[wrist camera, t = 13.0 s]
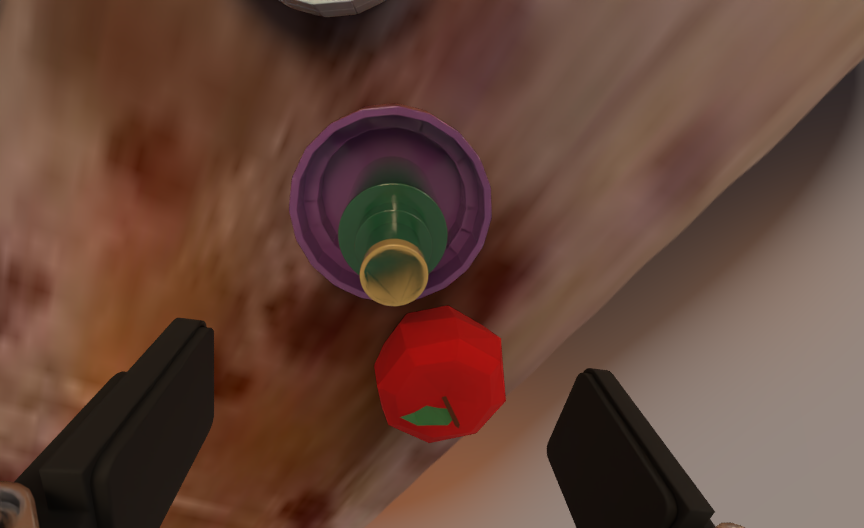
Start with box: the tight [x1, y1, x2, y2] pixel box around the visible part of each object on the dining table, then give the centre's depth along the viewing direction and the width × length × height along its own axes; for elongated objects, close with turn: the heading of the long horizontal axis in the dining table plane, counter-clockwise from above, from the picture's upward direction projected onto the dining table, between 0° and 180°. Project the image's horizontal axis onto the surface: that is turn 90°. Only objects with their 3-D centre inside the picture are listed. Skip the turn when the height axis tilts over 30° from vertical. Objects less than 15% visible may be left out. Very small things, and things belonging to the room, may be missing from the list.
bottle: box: [338, 156, 448, 306], centre depth 24 cm, size 6×6×14 cm
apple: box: [374, 305, 506, 443], centre depth 32 cm, size 11×11×10 cm
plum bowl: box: [289, 103, 492, 300], centre depth 29 cm, size 13×13×5 cm
